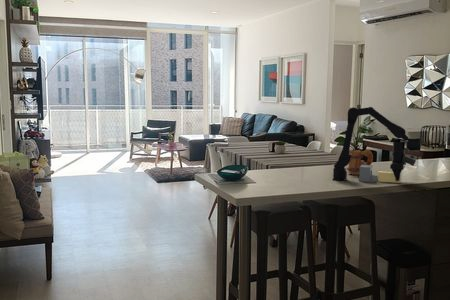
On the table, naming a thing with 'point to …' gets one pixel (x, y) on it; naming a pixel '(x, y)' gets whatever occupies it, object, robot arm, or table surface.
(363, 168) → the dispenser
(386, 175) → the pale yellow flat block
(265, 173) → the table surface
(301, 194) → the table surface
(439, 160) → the table surface
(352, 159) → the mug
